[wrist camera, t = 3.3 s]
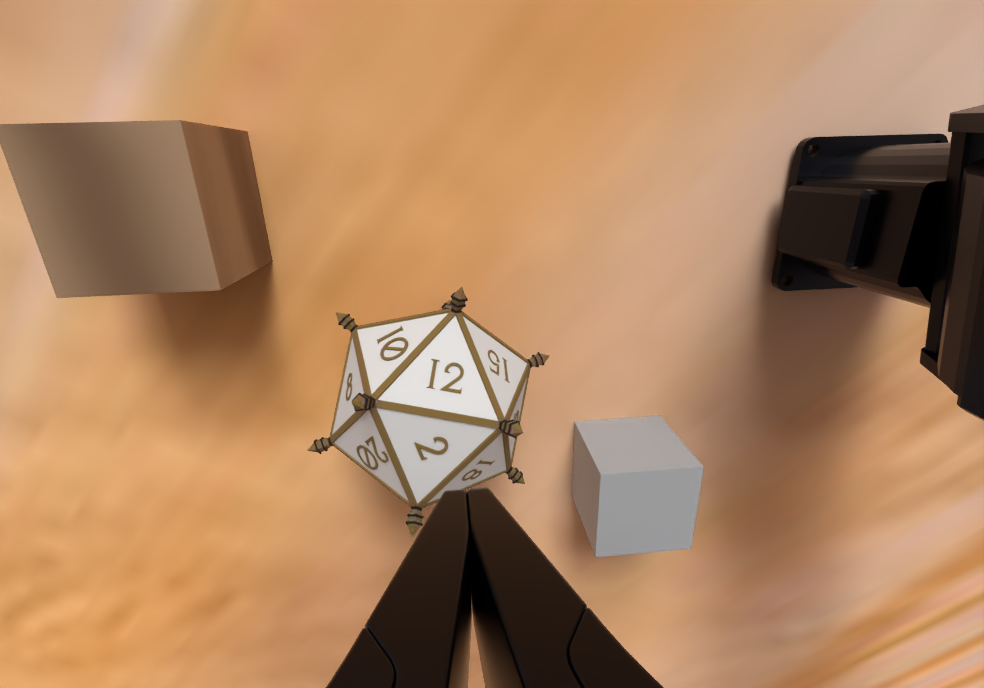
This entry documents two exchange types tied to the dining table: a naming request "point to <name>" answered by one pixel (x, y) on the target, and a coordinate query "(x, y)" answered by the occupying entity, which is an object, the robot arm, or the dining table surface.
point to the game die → (429, 404)
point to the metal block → (139, 205)
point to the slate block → (634, 485)
